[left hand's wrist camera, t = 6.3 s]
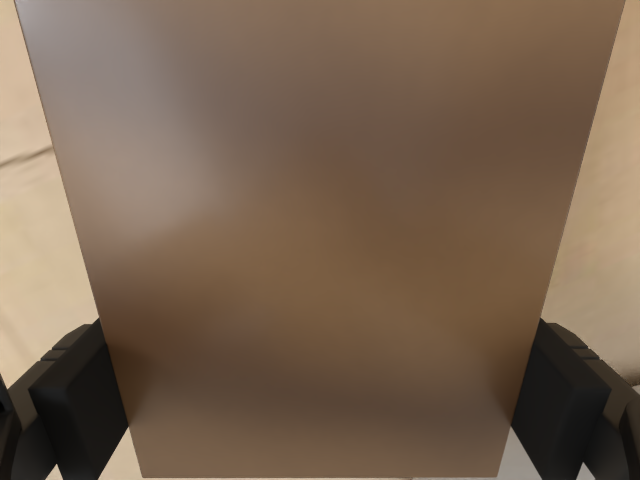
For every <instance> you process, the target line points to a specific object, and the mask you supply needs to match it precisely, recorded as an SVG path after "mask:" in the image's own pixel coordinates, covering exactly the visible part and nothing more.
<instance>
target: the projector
mask: <svg viewBox="0 0 640 480" xmlns="http://www.w3.org/2000/svg"><path fill="white" fill-rule="evenodd" d="M632 388H633V389H634V390H635V391H636V392H637V393H638V394H640V385H637V386H633V387H632ZM411 480H542V479H541V477H540V475H539V474H538V472H537V470H536V469H535V467H534V465H533V463H532V462H531V460H530V458H529V456H528V455H527V453H526V451H525V450H524V448H523V446H522V444H521V443H520V441H519V439H518V437H517V436H516V434H515V432H514V431H513V429H512V427H510V431H509V435H508V439H507V442H506V446H505V450H504V453H503V457H502V461H501V465H500V468H499V472H498V476H497V477H496V478H412V479H411ZM576 480H595V478H594V476H593V475H592V474H591V472H590V471H589V469H588V468H587V467H586V465H585V464H584V462H583V464H582V466H581V469H580V471H579V474H578V476H577V479H576Z"/></svg>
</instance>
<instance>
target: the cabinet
mask: <svg viewBox="0 0 640 480" xmlns="http://www.w3.org/2000/svg"><path fill="white" fill-rule="evenodd" d="M14 3H15V7H16V11H17V14H18V18H19V22H20V26H21V29H22V33H23V37H24V40H25V44H26V48H27V52H28V55H29V59H30V63H31V66H32V70H33V74H34V77H35V81H36V85H37V89H38V92H39V96H40V100H41V103H42V107H43V111H44V115H45V118H46V122H47V126H48V129H49V133H50V137H51V140H52V144H53V148H54V152H55V155H56V159H57V163H58V166H59V170H60V174H61V178H62V181H63V185H64V189H65V192H66V196H67V200H68V203H69V207H70V211H71V215H72V218H73V222H74V226H75V229H76V233H77V237H78V241H79V244H80V248H81V252H82V255H83V259H84V263H85V266H86V270H87V274H88V278H89V281H90V285H91V289H92V292H93V296H94V300H95V304H96V307H97V311H98V315H99V318H100V322H101V326H102V329H103V333H104V337H105V341H106V344H107V348H108V352H109V355H110V359H111V363H112V367H113V370H114V374H115V378H116V381H117V385H118V389H119V392H120V396H121V400H122V404H123V407H124V411H125V415H126V418H127V422H128V426H129V430H130V433H131V437H132V441H133V444H134V448H135V452H136V455H137V459H138V463H139V467H140V470H141V474H142V477H143V478H496V477H497V476H498V472H499V468H500V465H501V461H502V457H503V453H504V450H505V446H506V442H507V439H508V435H509V431H510V427H511V424H512V420H513V416H514V413H515V409H516V405H517V401H518V398H519V394H520V390H521V387H522V383H523V379H524V375H525V372H526V368H527V364H528V361H529V357H530V353H531V349H532V346H533V342H534V338H535V335H536V331H537V327H538V323H539V320H540V316H541V312H542V309H543V305H544V301H545V297H546V294H547V290H548V286H549V283H550V279H551V275H552V271H553V268H554V264H555V260H556V257H557V253H558V249H559V245H560V242H561V238H562V234H563V231H564V227H565V223H566V219H567V216H568V212H569V208H570V205H571V201H572V197H573V193H574V190H575V186H576V182H577V178H578V175H579V171H580V167H581V164H582V160H583V156H584V152H585V149H586V145H587V141H588V138H589V134H590V130H591V126H592V123H593V119H594V115H595V112H596V108H597V104H598V100H599V97H600V93H601V89H602V86H603V82H604V78H605V74H606V71H607V67H608V63H609V60H610V56H611V52H612V48H613V45H614V41H615V37H616V34H617V30H618V26H619V22H620V19H621V15H622V11H623V8H624V4H625V0H14Z"/></svg>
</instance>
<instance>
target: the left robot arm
mask: <svg viewBox="0 0 640 480" xmlns="http://www.w3.org/2000/svg"><path fill="white" fill-rule="evenodd" d="M511 427H512V429H513V431H514V432H515V434H516V436H517V437H518V439H519V441H520V443H521V444H522V446H523V448H524V450H525V451H526V453H527V455H528V456H529V458H530V460H531V462H532V463H533V465H534V467H535V469H536V470H537V472H538V474H539V475H540V477H541V479H542V480H576V479H577V476H578V474H579V471H580V469H581V466H582V464H583V462H584V464H585V465H586V467H587V468H588V469H589V471H590V472H591V474H592V475H593V476H594V478H595V480H640V394H638V393H637V392H636V391H635V390H634V389H633V388H632V387H631V386H630V385H629V384H628V383H627V382H626V381H625V380H623V379H622V378H621V377H620V376H619V375H618V374H617V373H616V372H615V371H614V370H613V369H612V368H611V367H609V366H608V365H607V364H606V363H605V362H604V361H603V360H600V359H599V356H598V355H597V354H596V353H594V352H593V351H592V350H591V349H588V346H587V345H586V344H585V343H584V342H583V341H582V340H580V339H579V338H578V337H577V336H576V335H575V334H574V333H572V332H570V331H569V330H567V329H565V328H564V327H562V326H560V325H558V324H557V323H546V322H545V321H544V320H543V319H542V318H541V317H540V320H539V323H538V327H537V331H536V335H535V338H534V342H533V346H532V349H531V353H530V357H529V361H528V364H527V368H526V372H525V375H524V379H523V383H522V387H521V390H520V394H519V398H518V401H517V405H516V409H515V413H514V416H513V420H512V424H511ZM127 428H128V422H127V418H126V415H125V411H124V407H123V404H122V400H121V396H120V392H119V389H118V385H117V381H116V378H115V374H114V370H113V367H112V363H111V359H110V355H109V352H108V348H107V344H106V341H105V337H104V333H103V329H102V326H101V322H100V318H98V319H97V320H96V321H95V322H94V323H93V324H84V325H82V326H80V327H79V328H77V329H75V330H73V331H72V332H70V333H68V334H67V335H65V336H64V337H63V338H62V339H61V340H60V341H59V342H58V343H57V344H55V345H54V346H53V347H52V350H49V351H48V352H47V353H46V354H45V355H44V356H43V357H42V358H41V360H40V361H37V362H36V363H35V364H34V365H33V366H32V367H31V368H30V369H29V370H28V371H27V372H26V373H25V374H23V375H22V376H21V377H20V378H19V379H18V380H17V381H16V382H15V383H14V384H13V385H12V386H11V387H10V388H9V389H7V388H6V386H5V383H4V381H3V379H2V376H1V374H0V480H45V479H46V478H47V476H48V475H49V474H50V472H51V471H52V469H53V468H54V467H55V465H56V464H57V465H58V468H59V470H60V473H61V475H62V478H63V480H98V478H99V477H100V475H101V473H102V471H103V470H104V468H105V466H106V464H107V463H108V461H109V459H110V458H111V456H112V454H113V452H114V451H115V449H116V447H117V445H118V444H119V442H120V440H121V439H122V437H123V435H124V433H125V432H126V430H127Z"/></svg>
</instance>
